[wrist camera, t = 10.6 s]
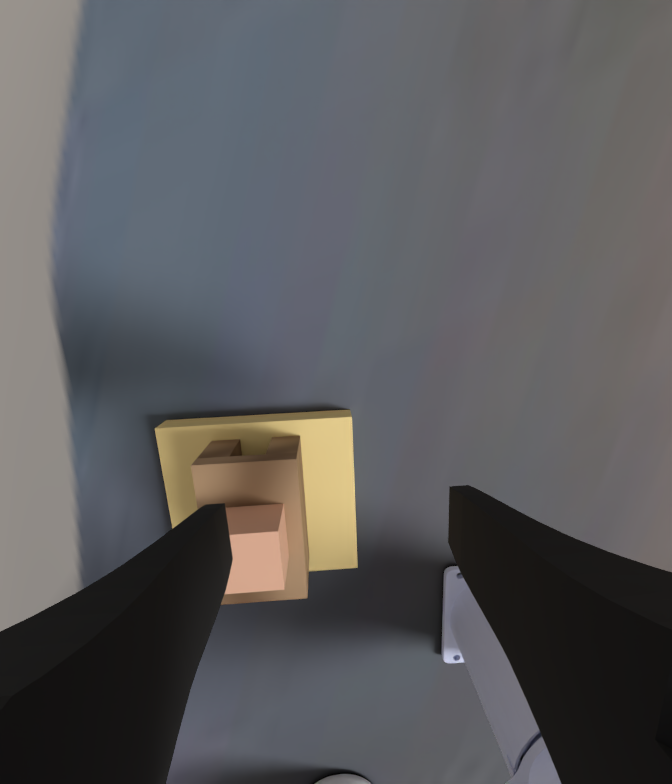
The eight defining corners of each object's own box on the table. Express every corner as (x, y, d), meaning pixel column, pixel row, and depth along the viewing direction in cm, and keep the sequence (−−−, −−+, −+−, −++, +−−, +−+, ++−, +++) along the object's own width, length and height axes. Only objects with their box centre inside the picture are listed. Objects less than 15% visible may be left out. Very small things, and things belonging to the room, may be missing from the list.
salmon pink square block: (283, 503, 17) (278, 531, 15) (288, 555, 18) (284, 589, 16) (222, 507, 17) (208, 536, 15) (230, 560, 18) (217, 595, 15)
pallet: (300, 435, 20) (296, 459, 16) (309, 556, 21) (307, 598, 18) (211, 440, 19) (190, 465, 16) (228, 562, 21) (212, 605, 18)
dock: (349, 409, 21) (351, 416, 19) (355, 551, 23) (357, 567, 22) (166, 420, 21) (154, 428, 19) (190, 563, 23) (181, 580, 21)
